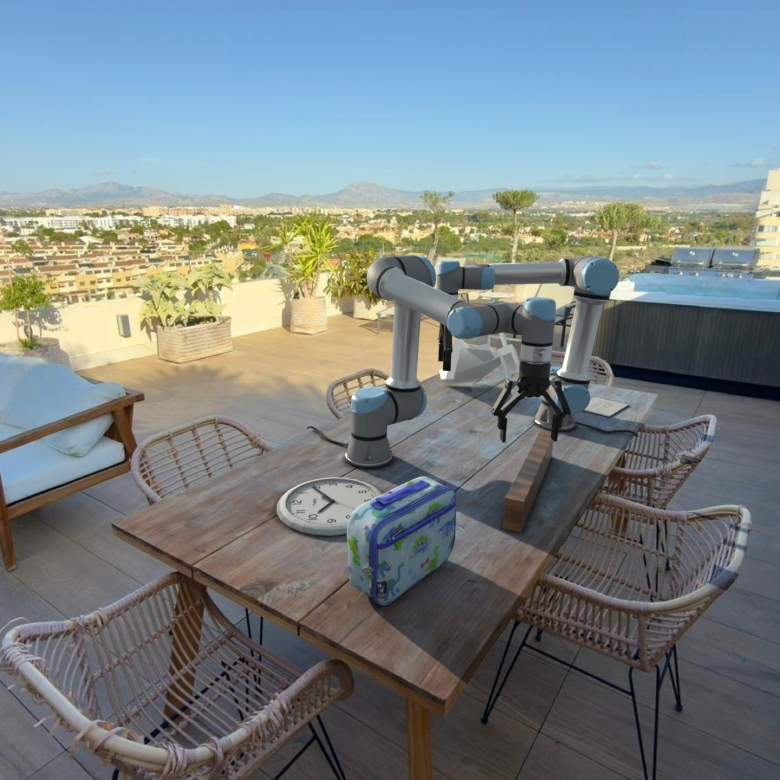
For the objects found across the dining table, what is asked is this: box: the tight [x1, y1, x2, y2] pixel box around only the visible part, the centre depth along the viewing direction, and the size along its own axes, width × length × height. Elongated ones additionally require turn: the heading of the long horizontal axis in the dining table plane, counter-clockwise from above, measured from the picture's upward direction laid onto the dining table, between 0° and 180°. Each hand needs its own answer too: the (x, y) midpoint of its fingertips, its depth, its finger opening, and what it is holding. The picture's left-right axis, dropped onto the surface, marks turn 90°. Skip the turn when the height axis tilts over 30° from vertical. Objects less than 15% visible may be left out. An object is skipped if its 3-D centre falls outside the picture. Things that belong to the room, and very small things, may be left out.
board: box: [502, 430, 554, 534], centre depth 153 cm, size 51×5×9 cm, turn 155°
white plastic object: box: [438, 332, 520, 396], centre depth 245 cm, size 37×45×31 cm
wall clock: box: [276, 476, 384, 537], centre depth 142 cm, size 30×2×30 cm
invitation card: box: [583, 396, 629, 418], centre depth 226 cm, size 21×1×15 cm
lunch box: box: [346, 475, 457, 607], centre depth 111 cm, size 26×11×21 cm, turn 134°
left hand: (528, 440), depth 136 cm, fingers open, 13 cm apart
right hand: (444, 366), depth 187 cm, fingers open, 13 cm apart
